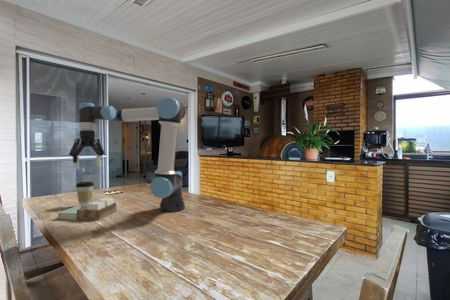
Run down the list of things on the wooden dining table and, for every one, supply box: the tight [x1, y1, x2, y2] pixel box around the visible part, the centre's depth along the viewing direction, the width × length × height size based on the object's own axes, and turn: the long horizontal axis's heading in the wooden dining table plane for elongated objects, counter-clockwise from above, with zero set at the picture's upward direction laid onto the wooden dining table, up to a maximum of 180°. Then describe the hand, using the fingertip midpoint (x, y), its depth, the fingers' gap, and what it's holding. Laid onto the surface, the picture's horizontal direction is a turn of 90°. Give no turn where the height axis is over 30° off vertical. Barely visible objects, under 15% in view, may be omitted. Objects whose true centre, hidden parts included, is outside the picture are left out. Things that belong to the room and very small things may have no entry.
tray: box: [57, 204, 87, 221], centre depth 128 cm, size 10×17×4 cm, turn 175°
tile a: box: [96, 197, 115, 206], centre depth 130 cm, size 6×6×3 cm
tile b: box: [87, 200, 105, 210], centre depth 122 cm, size 6×6×3 cm
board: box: [76, 202, 117, 221], centre depth 127 cm, size 12×16×5 cm
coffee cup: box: [75, 181, 95, 205], centre depth 145 cm, size 10×10×15 cm
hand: (88, 167), depth 130 cm, fingers open, 13 cm apart
